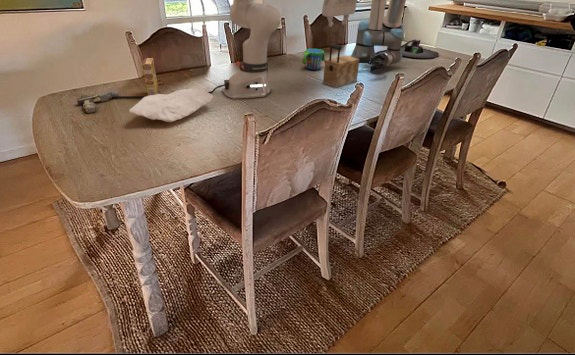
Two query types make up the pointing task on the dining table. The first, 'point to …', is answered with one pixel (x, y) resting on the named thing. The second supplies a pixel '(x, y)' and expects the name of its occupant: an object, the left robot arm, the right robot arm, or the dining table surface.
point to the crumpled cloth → (171, 104)
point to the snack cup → (313, 58)
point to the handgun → (95, 100)
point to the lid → (339, 60)
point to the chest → (340, 74)
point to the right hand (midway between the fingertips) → (360, 66)
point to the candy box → (150, 76)
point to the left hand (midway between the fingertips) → (337, 25)
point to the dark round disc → (417, 51)
